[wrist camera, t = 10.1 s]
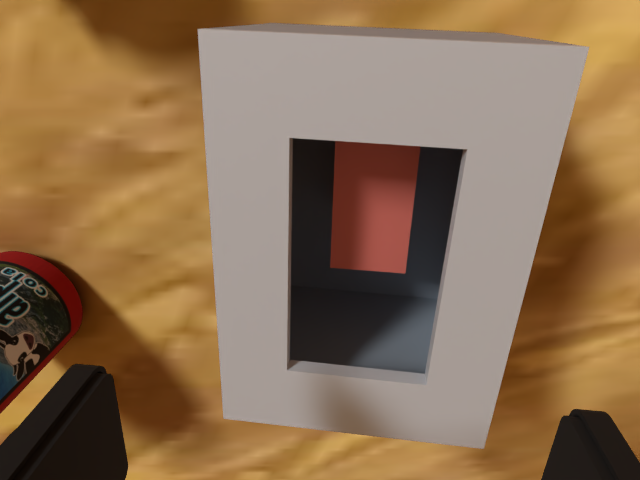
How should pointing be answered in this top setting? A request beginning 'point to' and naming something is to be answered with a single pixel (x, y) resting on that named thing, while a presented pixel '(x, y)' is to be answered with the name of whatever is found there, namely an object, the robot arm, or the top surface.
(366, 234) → the block
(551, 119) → the grey box
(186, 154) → the top surface
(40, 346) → the beverage can
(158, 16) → the top surface
